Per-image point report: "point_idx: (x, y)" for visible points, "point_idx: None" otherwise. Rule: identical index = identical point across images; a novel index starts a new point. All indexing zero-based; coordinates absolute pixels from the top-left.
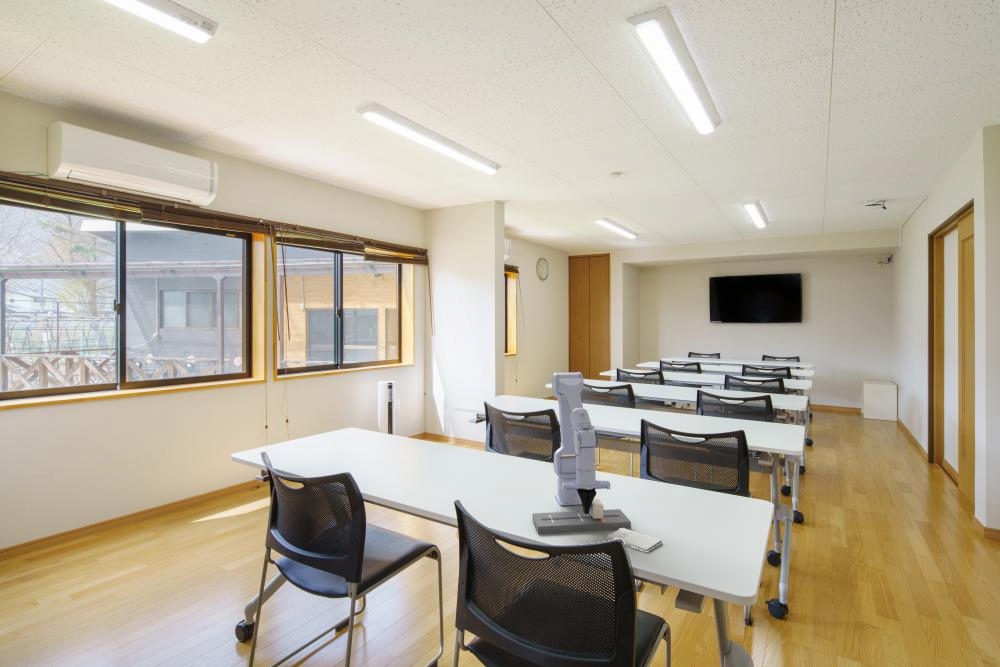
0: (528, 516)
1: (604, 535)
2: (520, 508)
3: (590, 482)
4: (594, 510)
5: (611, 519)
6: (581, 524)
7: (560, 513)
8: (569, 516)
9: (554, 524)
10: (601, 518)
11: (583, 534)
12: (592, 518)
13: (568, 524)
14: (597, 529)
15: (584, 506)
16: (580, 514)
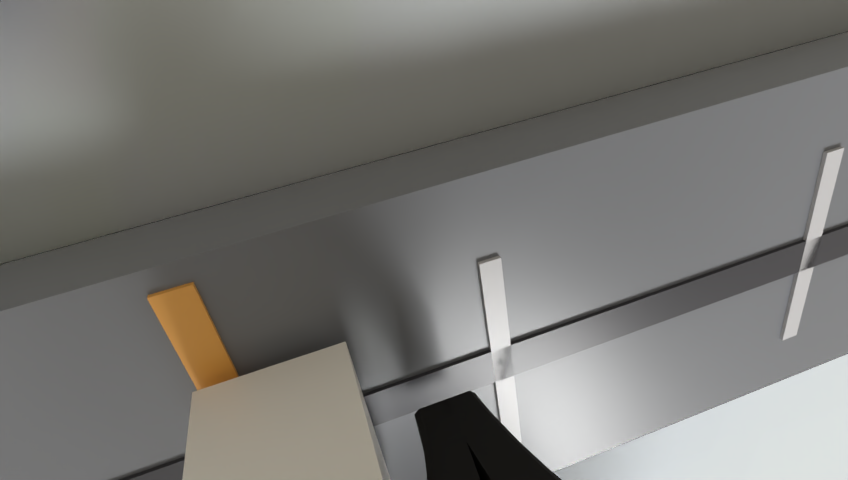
0: None
1: (154, 18)
2: (833, 448)
3: None
4: (351, 443)
5: (56, 415)
6: (522, 160)
7: (678, 399)
8: (614, 356)
9: (837, 108)
10: None
11: (471, 29)
12: None
13: (686, 133)
14: (276, 192)
15: (543, 469)
16: None
